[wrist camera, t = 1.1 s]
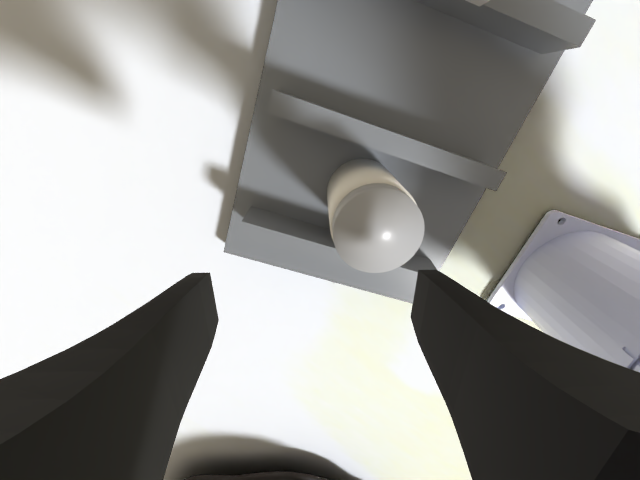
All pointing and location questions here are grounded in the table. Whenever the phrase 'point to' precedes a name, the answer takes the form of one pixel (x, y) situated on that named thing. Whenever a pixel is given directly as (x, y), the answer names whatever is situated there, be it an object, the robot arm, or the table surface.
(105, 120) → the table surface
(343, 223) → the cream rounded cylinder
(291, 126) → the grey slotted rack
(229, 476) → the casserole
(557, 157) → the table surface
